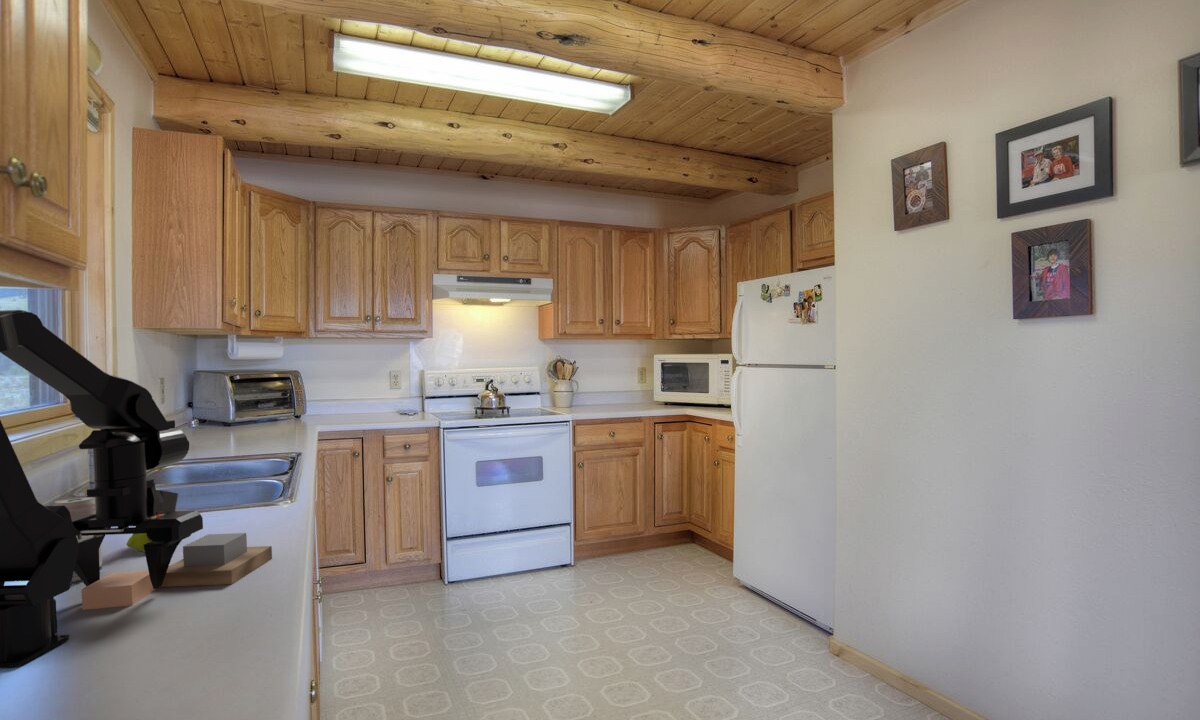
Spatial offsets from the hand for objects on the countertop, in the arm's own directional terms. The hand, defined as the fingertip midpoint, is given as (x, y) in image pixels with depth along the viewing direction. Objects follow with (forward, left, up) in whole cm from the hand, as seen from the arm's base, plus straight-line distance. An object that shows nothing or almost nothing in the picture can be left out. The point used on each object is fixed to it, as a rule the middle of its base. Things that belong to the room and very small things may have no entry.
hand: (126, 589), depth 85 cm
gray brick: (+9, -7, +1) cm, 11 cm away
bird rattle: (+24, +14, -1) cm, 28 cm away
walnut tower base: (+9, -7, -1) cm, 11 cm away
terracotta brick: (0, 0, -2) cm, 2 cm away
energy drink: (+9, +14, -1) cm, 17 cm away
